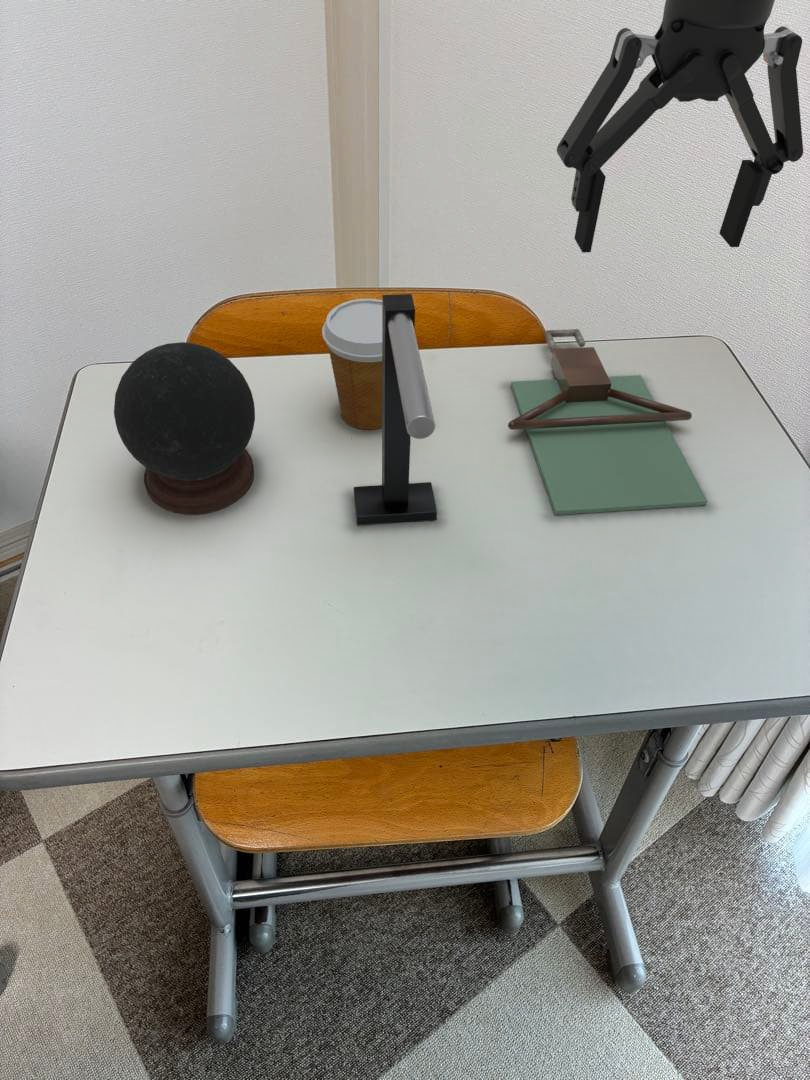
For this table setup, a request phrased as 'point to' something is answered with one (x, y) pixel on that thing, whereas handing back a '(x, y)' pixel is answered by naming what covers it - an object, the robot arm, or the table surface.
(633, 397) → the hanger
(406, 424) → the black and grey stand
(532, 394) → the mat
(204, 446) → the black ball on stand
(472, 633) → the table surface
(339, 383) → the disposable coffee cup
